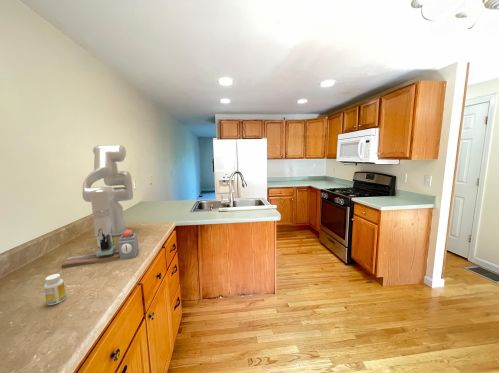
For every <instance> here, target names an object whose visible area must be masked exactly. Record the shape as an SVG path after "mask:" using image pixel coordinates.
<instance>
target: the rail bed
mask: <svg viewBox="0 0 499 373" xmlns="http://www.w3.org/2000/svg"><path fill="white" fill-rule="evenodd" d="M96 253H97V252H91V253H85V254H84V253H83V254H76V255H70V256H69V257H67V258H66V260H65V261H64V262H63V264H61V269H66V268H73V267H79V266H85V265H93V264H98V263H99V264H100V263H105V262H112V261H118V260H121V259H120V254H119V249H115V251H114V252H113V254H109V255H102V256H96Z"/></svg>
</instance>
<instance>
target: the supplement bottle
mask: <svg viewBox="0 0 499 373" xmlns="http://www.w3.org/2000/svg"><path fill="white" fill-rule="evenodd" d="M44 280H45V284H44V285H43V289H44V296H45V302H46V304H47V305H48V306H55V305H58V304H59V303H62V302H63V301H64V300H65V299H66V297H67V295H66V288H65V281H64V279H62V278H61V274H60V273H54V274H50V275H48V276H47V277H45V279H44ZM54 304H55V305H54Z"/></svg>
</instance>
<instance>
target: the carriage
mask: <svg viewBox="0 0 499 373" xmlns="http://www.w3.org/2000/svg"><path fill="white" fill-rule="evenodd" d="M103 236H104V235H103ZM103 238H105V237H103ZM107 241H108V245H109V248H108V249H101V247H99V249H98V250H97V251H96V252H95V253H96V256H102V255H109V254H113V252H114V251H115V250H117V245H116V244H115V245H114V244H112V245H111V237H110V235H107ZM100 246H101V243H100Z"/></svg>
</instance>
